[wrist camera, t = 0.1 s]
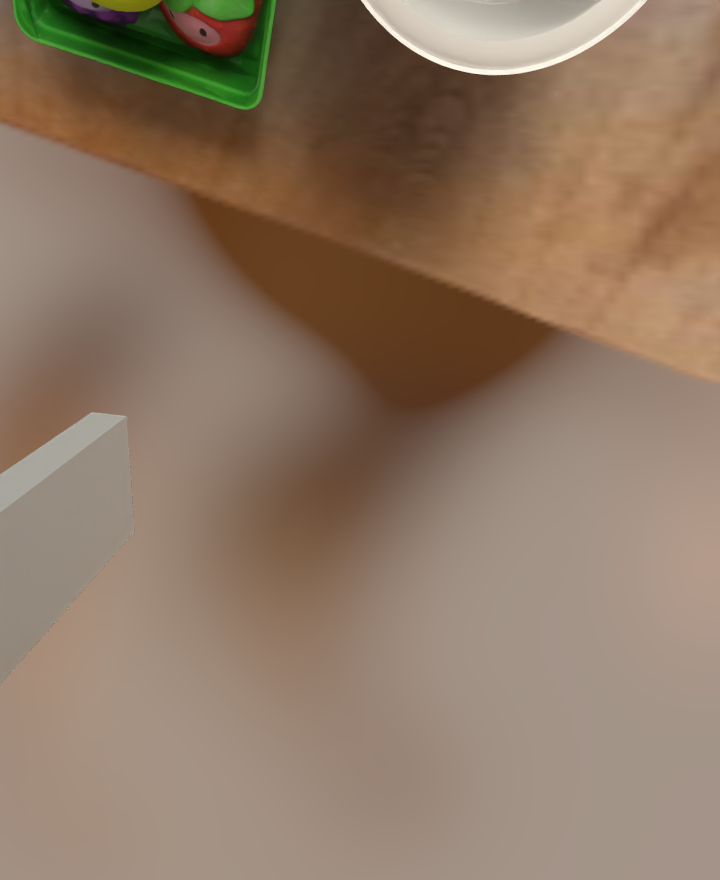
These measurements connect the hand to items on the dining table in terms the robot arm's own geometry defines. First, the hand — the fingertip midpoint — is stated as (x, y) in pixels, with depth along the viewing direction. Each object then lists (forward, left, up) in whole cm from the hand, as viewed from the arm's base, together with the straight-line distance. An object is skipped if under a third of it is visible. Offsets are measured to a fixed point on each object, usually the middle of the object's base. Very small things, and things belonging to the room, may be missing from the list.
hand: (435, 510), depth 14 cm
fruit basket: (+6, -14, -28) cm, 32 cm away
